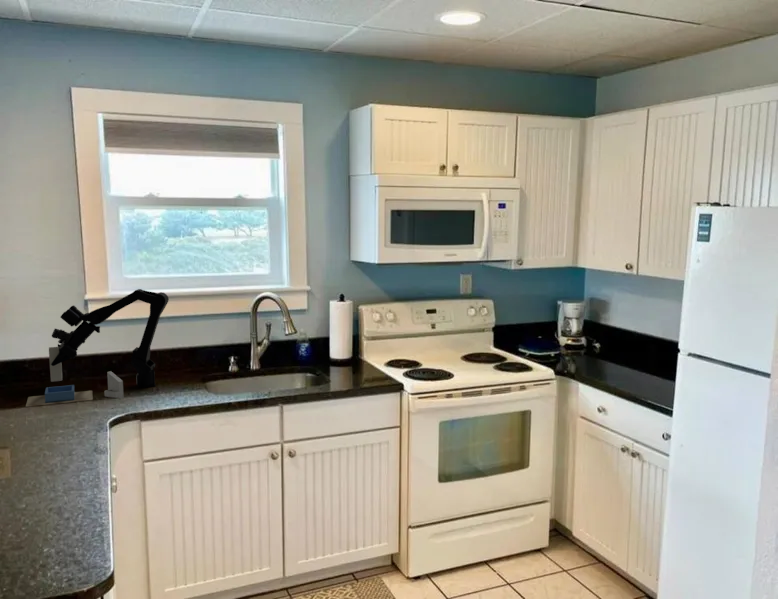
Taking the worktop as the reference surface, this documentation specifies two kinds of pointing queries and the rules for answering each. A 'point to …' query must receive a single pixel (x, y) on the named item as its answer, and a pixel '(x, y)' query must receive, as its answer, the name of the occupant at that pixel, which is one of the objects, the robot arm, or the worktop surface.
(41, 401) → the board
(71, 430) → the worktop surface
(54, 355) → the connector column
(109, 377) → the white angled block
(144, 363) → the robot arm
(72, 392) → the box
